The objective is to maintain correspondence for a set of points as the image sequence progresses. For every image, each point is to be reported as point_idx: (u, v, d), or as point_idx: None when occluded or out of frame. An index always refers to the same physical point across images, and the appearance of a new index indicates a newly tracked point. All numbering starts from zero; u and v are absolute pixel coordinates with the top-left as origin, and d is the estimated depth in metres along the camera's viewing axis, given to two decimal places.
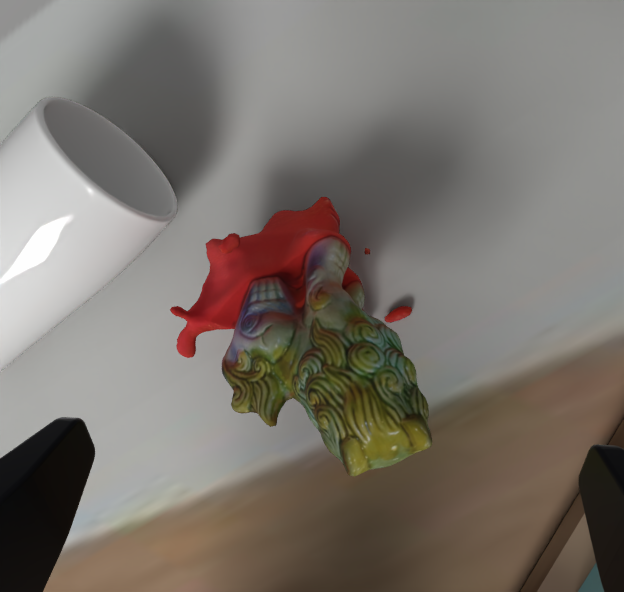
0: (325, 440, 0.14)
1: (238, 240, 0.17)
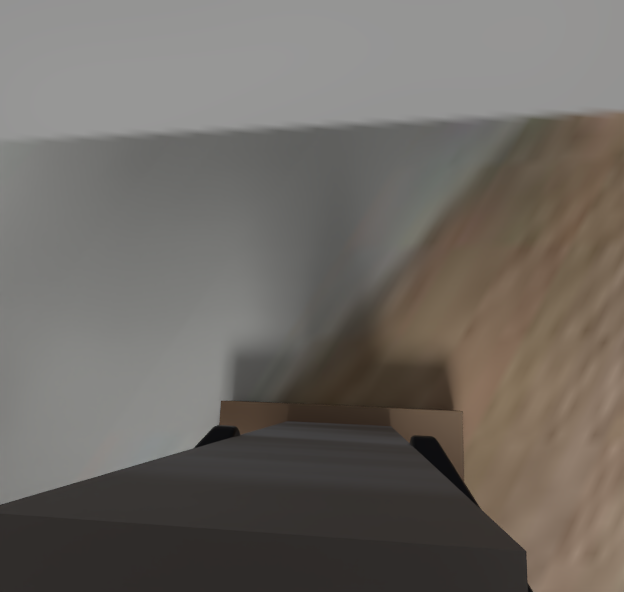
0: None
1: None
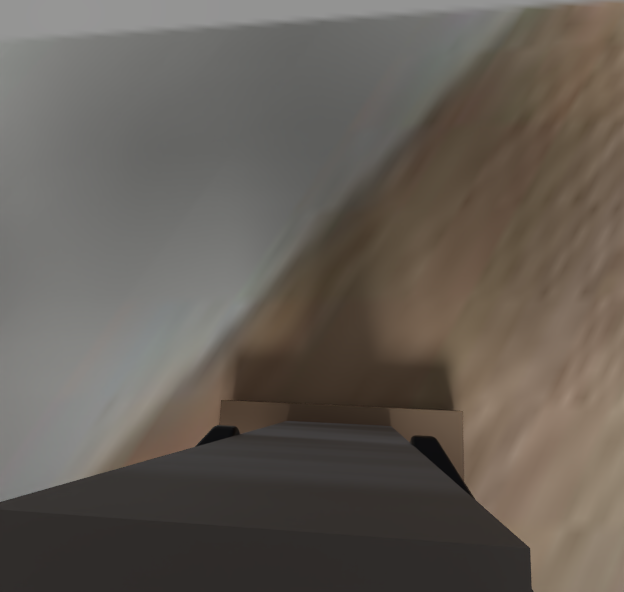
0: None
1: None
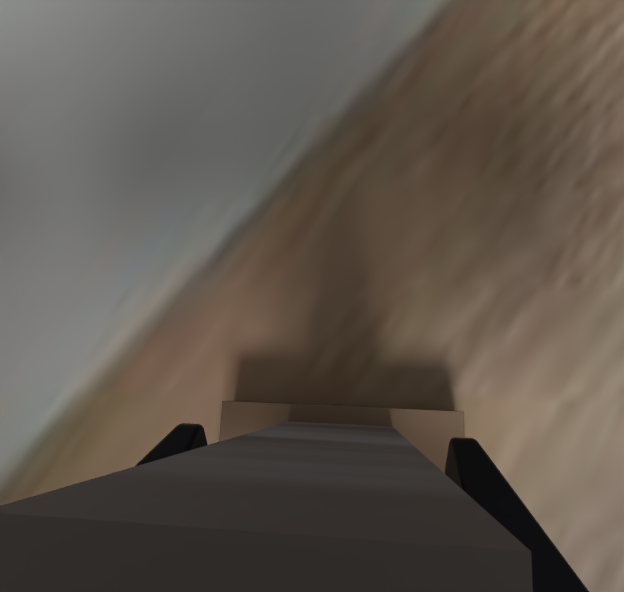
0: None
1: None
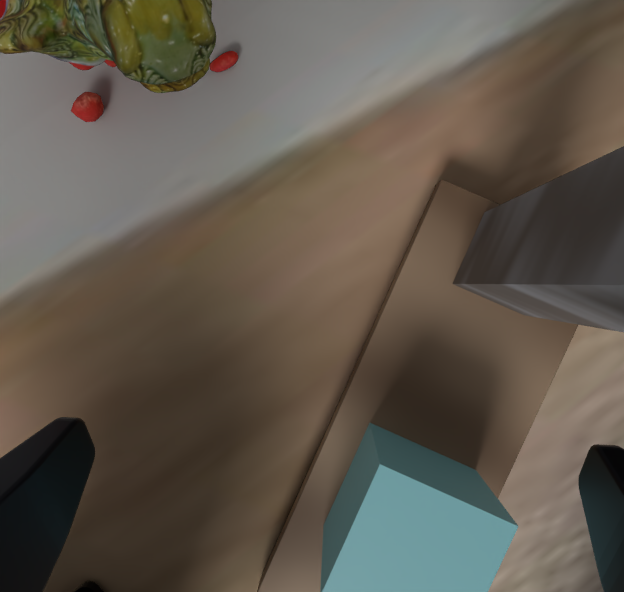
0: (88, 24, 0.12)
1: None
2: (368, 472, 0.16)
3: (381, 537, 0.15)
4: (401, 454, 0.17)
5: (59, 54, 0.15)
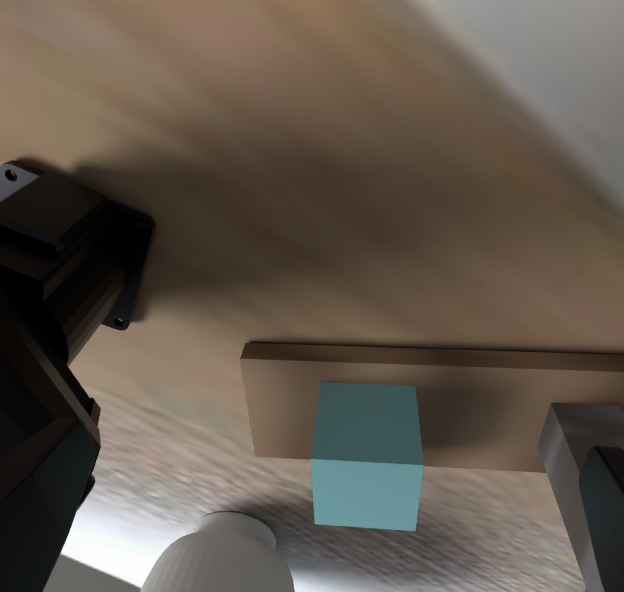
0: None
1: None
2: (404, 444, 0.21)
3: (371, 477, 0.20)
4: None
5: None
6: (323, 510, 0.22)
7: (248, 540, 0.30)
